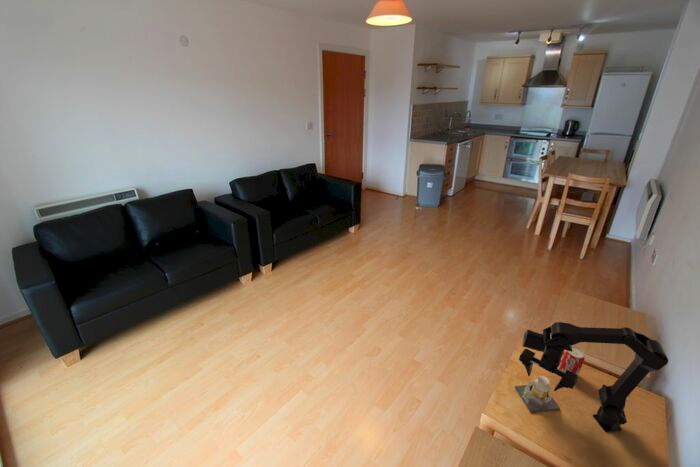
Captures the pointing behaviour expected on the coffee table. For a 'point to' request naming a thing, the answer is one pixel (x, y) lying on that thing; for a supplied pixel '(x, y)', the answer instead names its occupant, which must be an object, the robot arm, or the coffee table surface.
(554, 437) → the coffee table surface
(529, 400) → the collar
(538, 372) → the coffee table surface
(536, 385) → the supplement bottle
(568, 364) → the soda can
